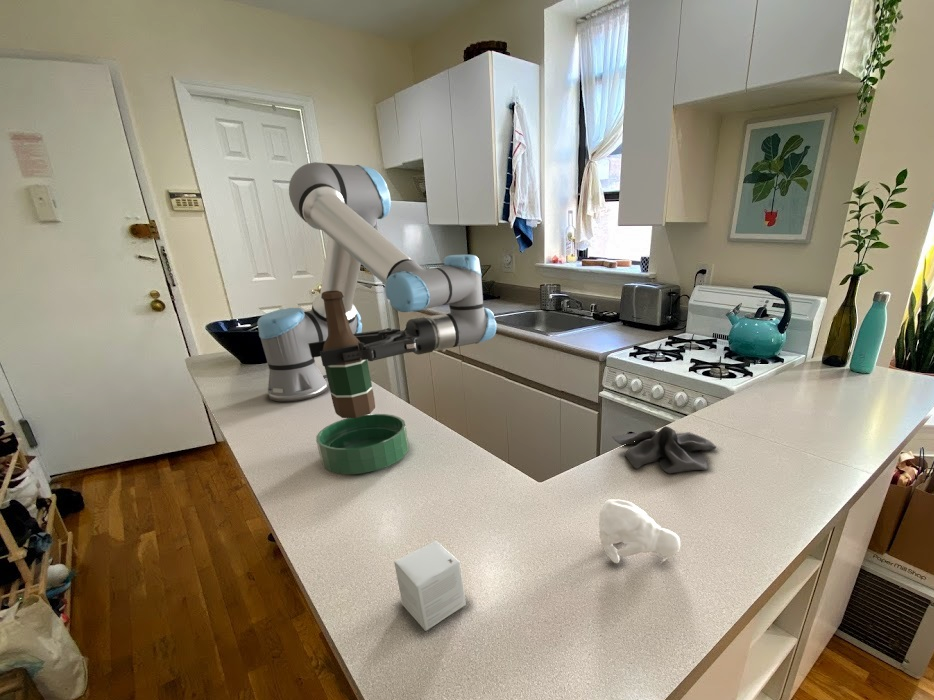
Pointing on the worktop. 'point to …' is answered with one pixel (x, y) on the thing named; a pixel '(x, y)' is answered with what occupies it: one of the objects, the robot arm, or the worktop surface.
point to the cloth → (667, 449)
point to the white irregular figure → (633, 532)
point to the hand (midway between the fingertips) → (316, 354)
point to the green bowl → (362, 443)
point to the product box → (430, 584)
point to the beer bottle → (346, 364)
